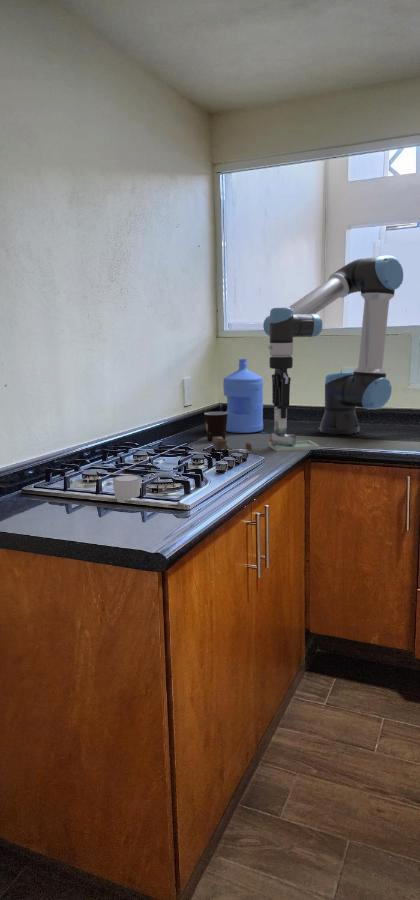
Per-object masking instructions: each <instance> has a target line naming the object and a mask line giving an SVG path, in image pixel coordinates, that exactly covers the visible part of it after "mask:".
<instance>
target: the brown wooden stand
mask: <svg viewBox="0 0 420 900" xmlns="http://www.w3.org/2000/svg"><path fill="white" fill-rule="evenodd" d="M211 444H212V445H214V446H215V449H216V450H221V449H229V446H228V444H227V440H226V438H225V439H223V438H222V437H221V436H217V437H212V443H211ZM252 447H253V445H252V444H251V443H250V442H245V447H241V448H240V447H239V448H238V447H237V448H235V449H247V450H252V449H253V448H252Z"/></svg>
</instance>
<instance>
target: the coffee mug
mask: <svg viewBox="0 0 420 900" xmlns="http://www.w3.org/2000/svg"><path fill="white" fill-rule="evenodd" d="M203 416H204V423H205V429H206V438H207V441H208V442H212V437H217V436H221V437H222V438H223V439H225V440H226V434H227V431H226V426H227V416H228V413H227V412H226V411H208V412H207V411H206V412H204V413H203Z"/></svg>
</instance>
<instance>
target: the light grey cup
mask: <svg viewBox="0 0 420 900" xmlns="http://www.w3.org/2000/svg"><path fill="white" fill-rule="evenodd" d="M142 479H143V478H142V476H140V475H135V474H124V475H117V476H115V477H113V478H112V479H111V480H112V486H113V494H114V499H115V498H116V499H117V501H116V502H118V503H125V502H124V501H125V500H128V499H131V498H135V497H138V496H139V494H140V488H141V489H142V484H143V481H142Z"/></svg>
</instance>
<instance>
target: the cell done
mask: <svg viewBox="0 0 420 900" xmlns="http://www.w3.org/2000/svg"><path fill="white" fill-rule="evenodd" d="M268 441H269V443H270V445H278V446H293V447H294V446H295V444H296V441H297V436H296V434H290V433H286V434H275V433H274V432H271V433H270V435H269V437H268Z"/></svg>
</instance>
